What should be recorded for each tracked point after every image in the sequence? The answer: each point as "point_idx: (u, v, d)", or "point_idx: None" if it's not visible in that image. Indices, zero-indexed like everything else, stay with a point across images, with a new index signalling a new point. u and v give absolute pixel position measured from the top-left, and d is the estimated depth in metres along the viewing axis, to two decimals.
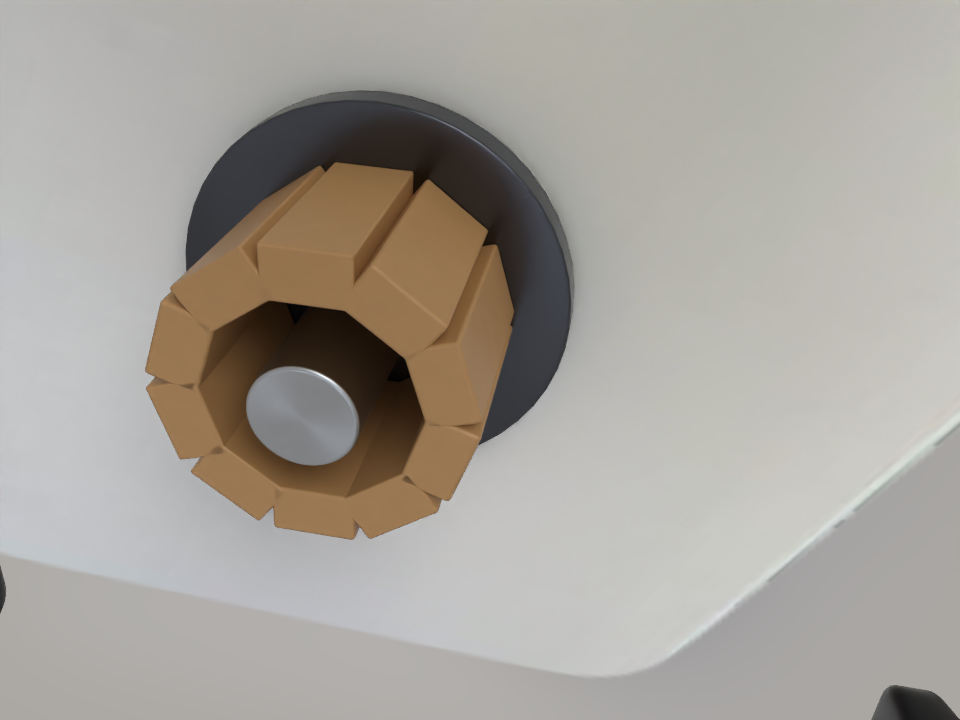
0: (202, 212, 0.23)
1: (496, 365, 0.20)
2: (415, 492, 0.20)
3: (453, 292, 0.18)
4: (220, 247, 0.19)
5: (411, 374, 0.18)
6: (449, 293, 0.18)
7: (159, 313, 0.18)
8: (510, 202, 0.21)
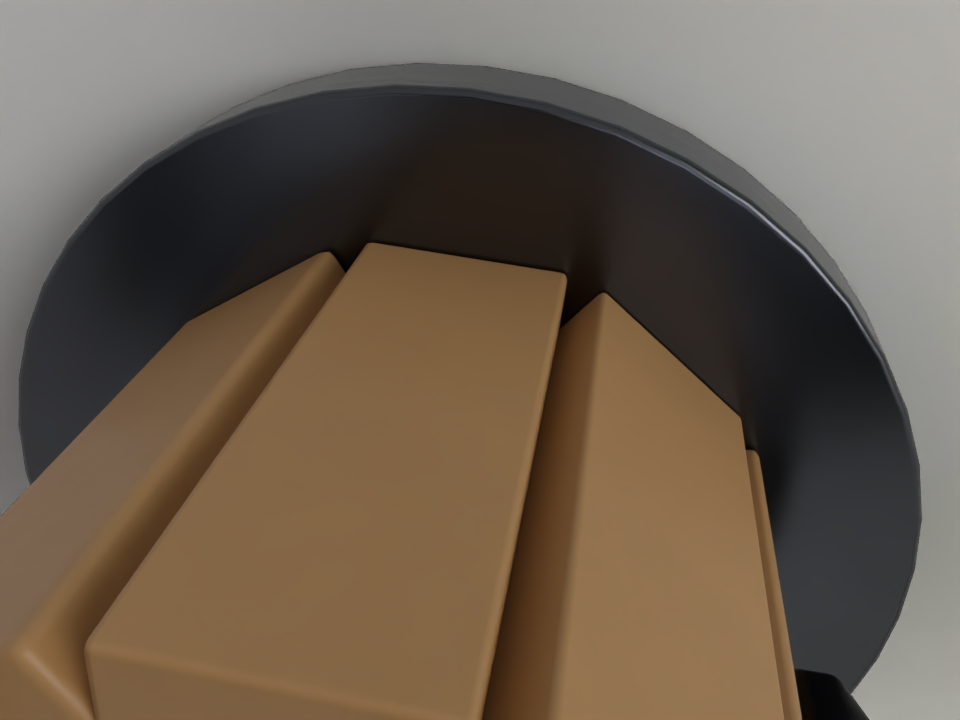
0: (206, 162, 0.08)
1: None
2: None
3: None
4: (312, 499, 0.05)
5: None
6: None
7: None
8: (856, 581, 0.10)
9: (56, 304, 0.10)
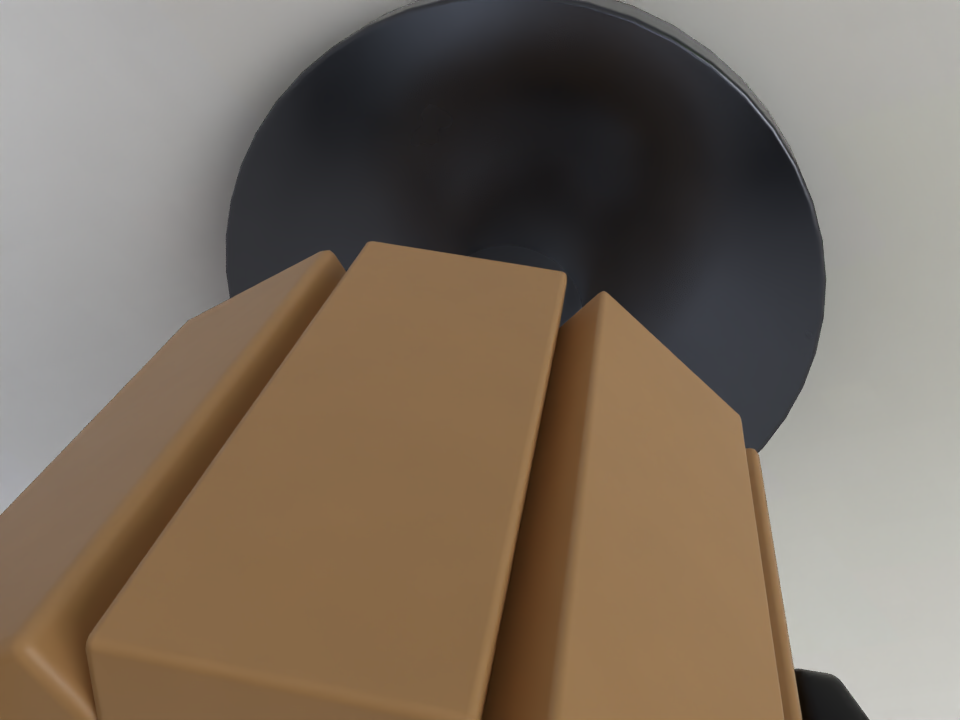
0: (374, 44, 0.14)
1: None
2: None
3: None
4: (312, 496, 0.05)
5: None
6: None
7: None
8: (786, 327, 0.15)
9: (264, 146, 0.15)
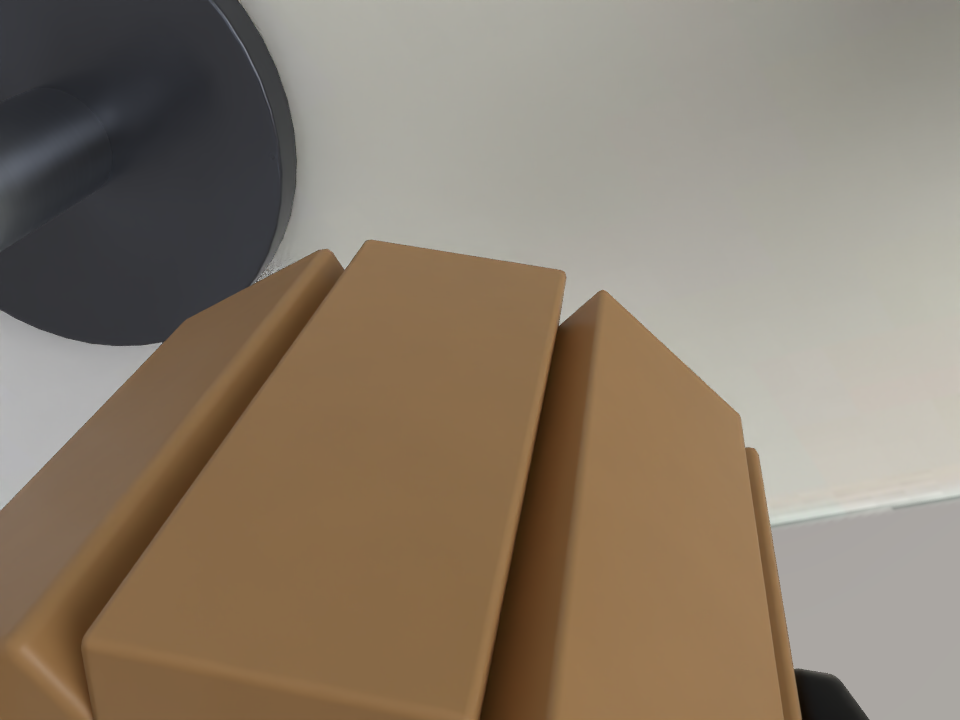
0: None
1: None
2: None
3: None
4: (310, 495, 0.05)
5: None
6: None
7: None
8: (254, 150, 0.19)
9: None
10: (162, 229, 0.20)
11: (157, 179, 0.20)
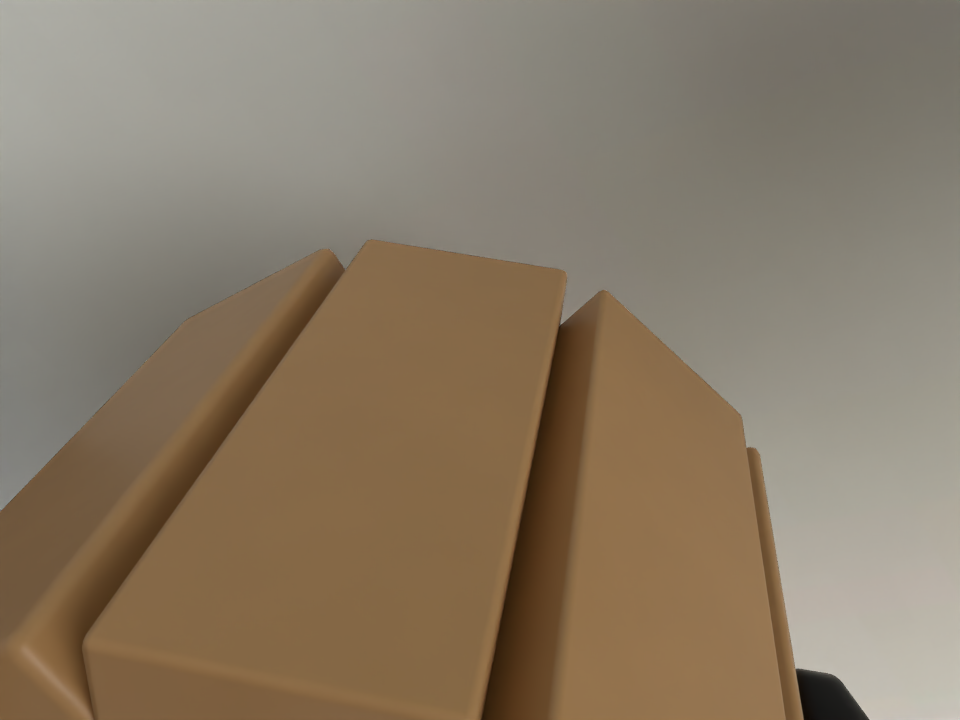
0: None
1: None
2: None
3: None
4: (311, 495, 0.05)
5: None
6: None
7: None
8: None
9: None
10: None
11: None
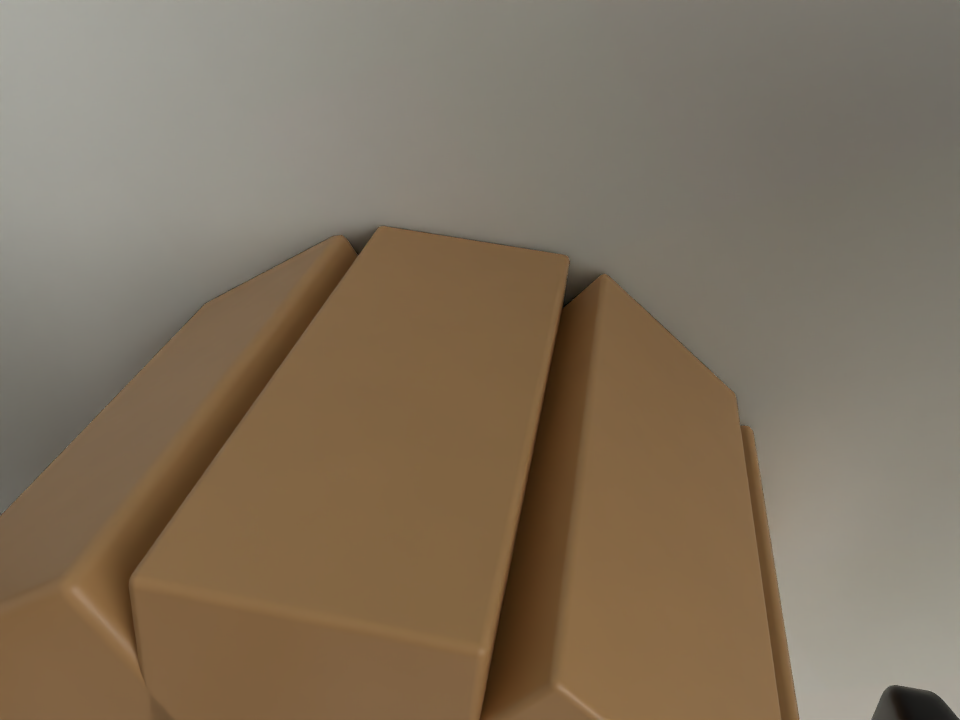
0: None
1: None
2: None
3: None
4: (333, 455, 0.06)
5: None
6: None
7: (32, 603, 0.05)
8: None
9: None
10: None
11: None
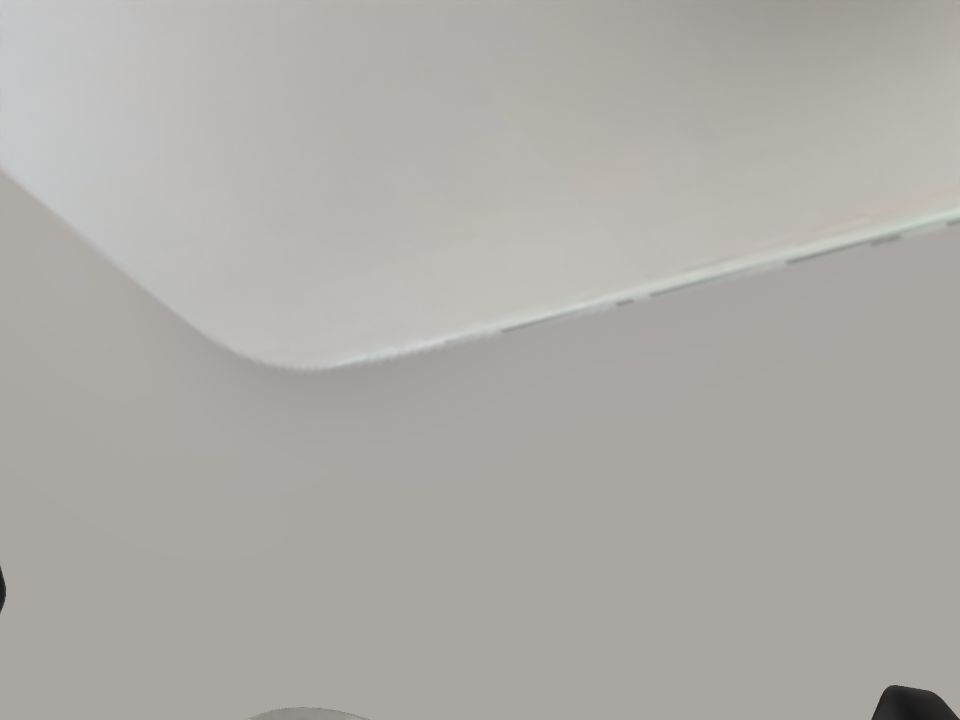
0: None
1: None
2: None
3: None
4: None
5: None
6: None
7: None
8: None
9: None
10: None
11: None
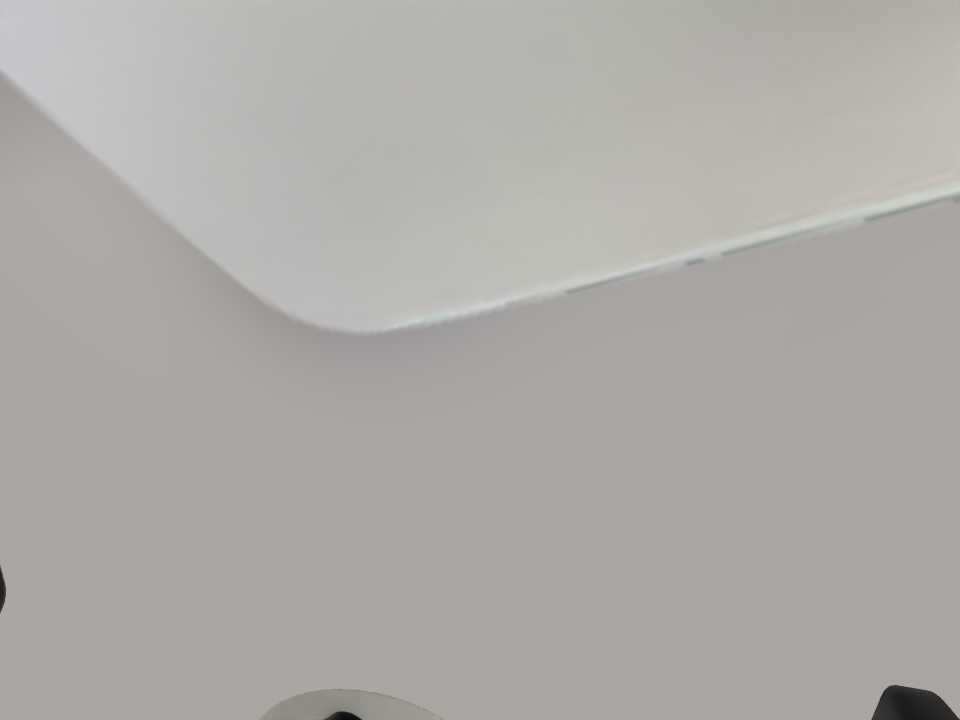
0: None
1: None
2: None
3: None
4: None
5: None
6: None
7: None
8: None
9: None
10: None
11: None
